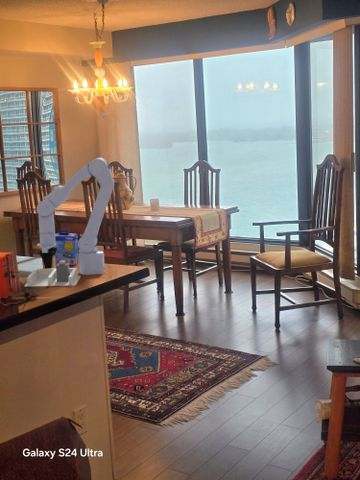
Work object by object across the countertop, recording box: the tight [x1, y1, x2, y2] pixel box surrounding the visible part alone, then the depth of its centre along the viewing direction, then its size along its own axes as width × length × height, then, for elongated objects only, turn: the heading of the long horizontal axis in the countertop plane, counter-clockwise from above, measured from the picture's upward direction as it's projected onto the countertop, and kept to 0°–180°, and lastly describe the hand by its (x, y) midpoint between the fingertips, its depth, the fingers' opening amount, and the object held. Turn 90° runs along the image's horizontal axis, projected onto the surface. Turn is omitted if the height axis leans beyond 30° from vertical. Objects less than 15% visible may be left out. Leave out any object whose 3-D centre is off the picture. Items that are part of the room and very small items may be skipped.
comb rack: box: [23, 267, 82, 287], centre depth 228 cm, size 18×14×4 cm
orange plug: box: [42, 255, 56, 269], centre depth 239 cm, size 4×4×7 cm
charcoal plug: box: [56, 260, 70, 282], centre depth 228 cm, size 4×4×7 cm
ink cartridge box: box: [55, 229, 79, 266], centre depth 259 cm, size 10×6×14 cm, turn 87°
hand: (49, 267), depth 240 cm, fingers closed on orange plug, 4 cm apart
